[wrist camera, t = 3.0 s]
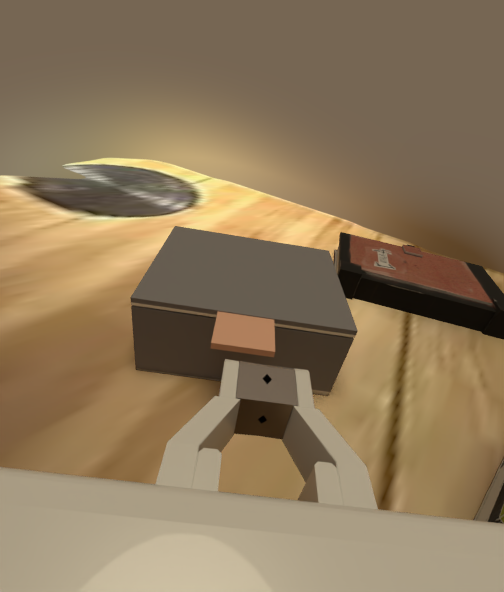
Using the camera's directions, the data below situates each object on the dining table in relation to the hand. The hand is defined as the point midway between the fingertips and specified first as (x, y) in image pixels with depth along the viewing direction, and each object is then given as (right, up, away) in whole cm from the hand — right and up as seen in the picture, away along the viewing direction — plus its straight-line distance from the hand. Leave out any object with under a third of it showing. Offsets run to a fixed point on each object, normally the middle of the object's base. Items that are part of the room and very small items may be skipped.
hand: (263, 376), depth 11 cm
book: (+27, +4, +45) cm, 52 cm away
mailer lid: (-1, +4, +22) cm, 22 cm away
